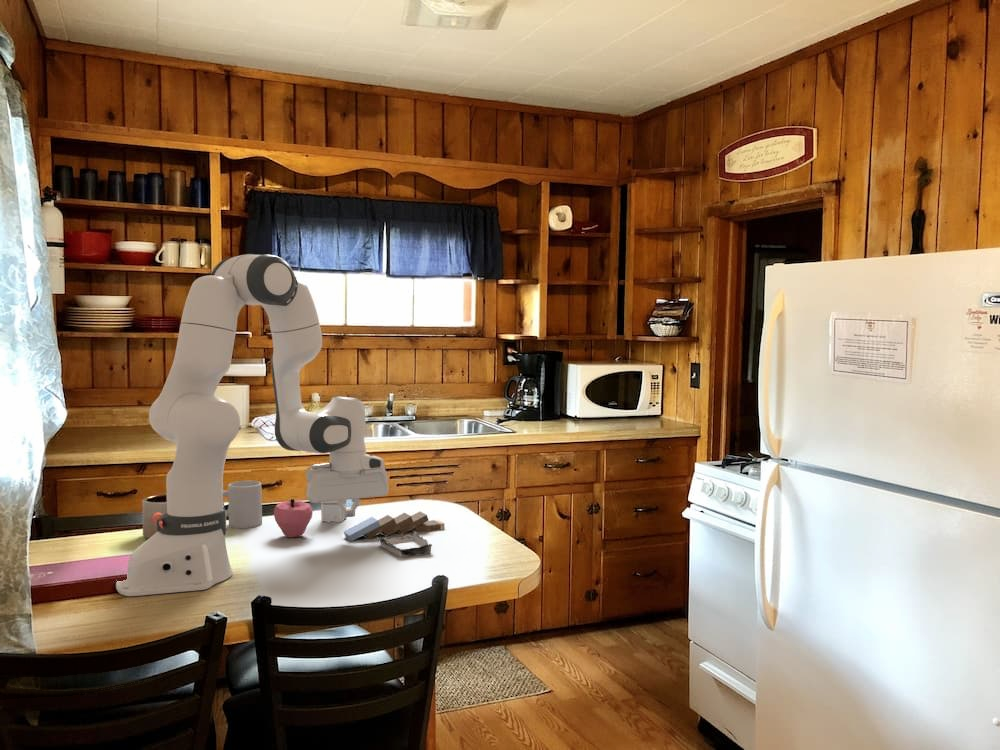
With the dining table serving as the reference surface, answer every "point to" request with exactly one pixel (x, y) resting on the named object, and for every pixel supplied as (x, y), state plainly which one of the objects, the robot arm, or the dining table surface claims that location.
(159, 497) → the planter
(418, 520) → the domino
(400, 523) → the domino
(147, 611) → the dining table surface
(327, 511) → the syrup box
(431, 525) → the domino
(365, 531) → the domino
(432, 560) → the dining table surface
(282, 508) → the apple
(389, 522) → the domino
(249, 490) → the mug
